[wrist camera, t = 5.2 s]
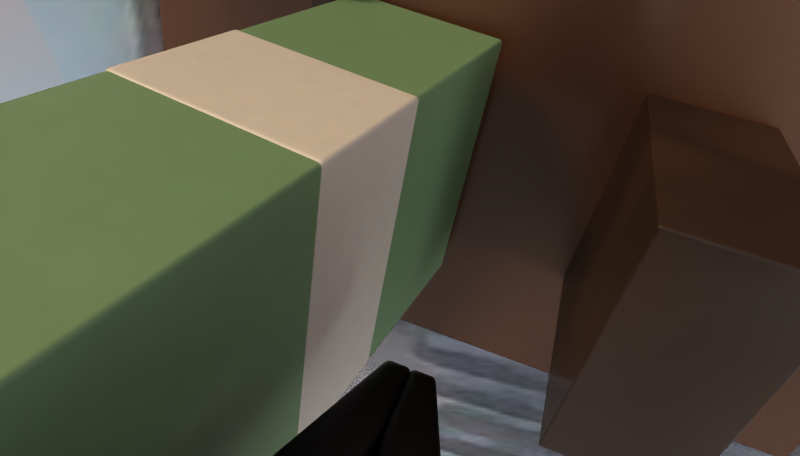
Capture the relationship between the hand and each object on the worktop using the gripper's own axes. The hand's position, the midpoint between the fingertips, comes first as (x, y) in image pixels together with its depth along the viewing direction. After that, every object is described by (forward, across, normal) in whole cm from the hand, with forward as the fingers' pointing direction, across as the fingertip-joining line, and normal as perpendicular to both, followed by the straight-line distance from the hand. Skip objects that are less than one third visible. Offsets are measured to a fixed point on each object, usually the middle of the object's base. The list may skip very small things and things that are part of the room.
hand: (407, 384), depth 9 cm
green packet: (+7, 0, 0) cm, 7 cm away
